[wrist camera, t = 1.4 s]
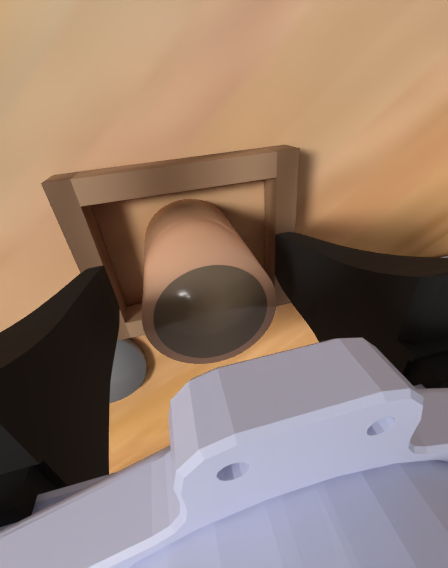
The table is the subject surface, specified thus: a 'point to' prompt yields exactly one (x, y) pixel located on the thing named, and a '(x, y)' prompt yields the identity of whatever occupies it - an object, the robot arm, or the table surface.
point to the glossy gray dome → (127, 369)
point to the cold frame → (162, 180)
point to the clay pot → (202, 286)
